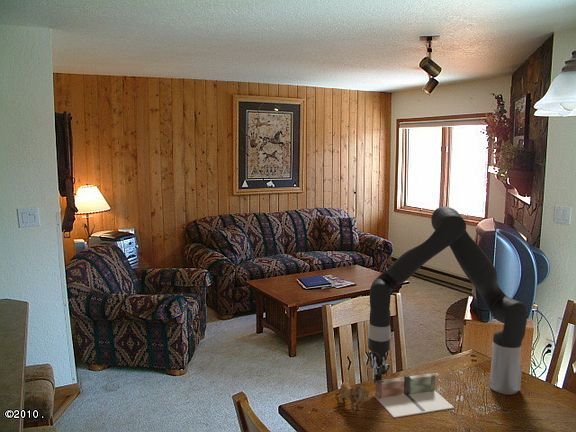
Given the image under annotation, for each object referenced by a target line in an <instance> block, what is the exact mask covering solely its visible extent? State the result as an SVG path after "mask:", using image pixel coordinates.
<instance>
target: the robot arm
mask: <svg viewBox="0 0 576 432" xmlns="http://www.w3.org/2000/svg"><path fill="white" fill-rule="evenodd" d="M430 218H431V221H430V222H431V226H432V228H433V230H434V231H433V233H432V234H431V235H430V236H429V237H428V238H427V239H426V240H425V241H424V242H422V243H420V244H418V245H417V246H415V247H413V248H411V249H409V250H407V251H405V252H403V253H402V255H400V256H399V257H398V258H397V259H396V260H394V262H392V264H391V265H390V266H389V267H388V269H387V268H386V269H385V271H384V272H382V273H380V274H379V276H377V277H376V278H375V279H374V280H373V281H372V283H371V285H370V288H369V307H370V309H369V324H368V330H367V331H368V334H367V348H368V350H369V351H368V352H367V355H368V359H369V363H370V368H371V369H372V371H373V373H374V375H373V382H374V384H375V385H376V381H378V380H383V379H382V376H383V375H386V374H387V372H388V371H389V369H390V367H391V366H390V363H389V364H388V363H387V353H388V352H389V351H390V350H391V333H392V332H391V310H390V309H391V297H392V293H393V291H394V290H395V289H396V288H397V287H398V286H399V285H400V284H403V283H406V281H408V279H409V278H411V277H412V276H413V275H414V274H416V272H417V271H418V270H419V269H420V268H421V267H422V266H423V265H425V264H426V263H427V262H428V261H430V260H431V259H432V258H434V257H435V256H437V255H438V254H439V253H441V252H442V251H444V250H445V249H447V248H448V247H449V248H450V250H451V251H452V253H453V255H454V257H455V259H456V261H457V263H458V265H459V267H460V268H461V271H463V273H464V275H465V276H466V277H467V279H468V280H469V282H471V284H472V285H473V287H474V288H475V290H476V291H477V292H478V294H479V295H480V297H481V298H482V300H483V301H484V304H485V305H486V308H487V310H488V311H489V313H490V315H491V316H492V318H494V319H495V320H496V321H498V322H500V323H501V324H503V328H502V329H503V330H498V331H495V332H494V333H493V334H492V335H493V337H492V348H491V349H492V350H491V364H490V377H489V387H490V389H491V390H493V391H494V392H496V393H499V394H502V395H516V394H517V393H518V392H519V391H521V385H522V384H521V383H522V375H523V374H522V372H523V371H522V370H523V366H522V364H521V356H522V355H521V354H522V342H523V340H524V338H525V334H526V329H527V322H528V309H527V305H526V304H524V303H523V302H521V301H519V300H517V299H515V298H511V297H510V296H508V295H506V293H504V291H503V290H502V289H501V287H500V286H499V284H498V282H497V281H498V273H497V270H496V268H495V266H494V264H493V262H492V261H491V260H490V258H489V256H488V255H487V254H486V253H485V251H484V250H483V249H482V248H481V247H480V246H479V244H477V243H478V242H476V241H475V240H474V239H473V238H472V237H471V235H470V234H469V233H468V231H467V223H466V221H465V219H464V218H463V216H461V214H459V212H458V211H457V209H455V208H452V207H449V206H440V207H437V208H436V209H435V210H434V211H433V212H432V215H431V217H430Z"/></svg>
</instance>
